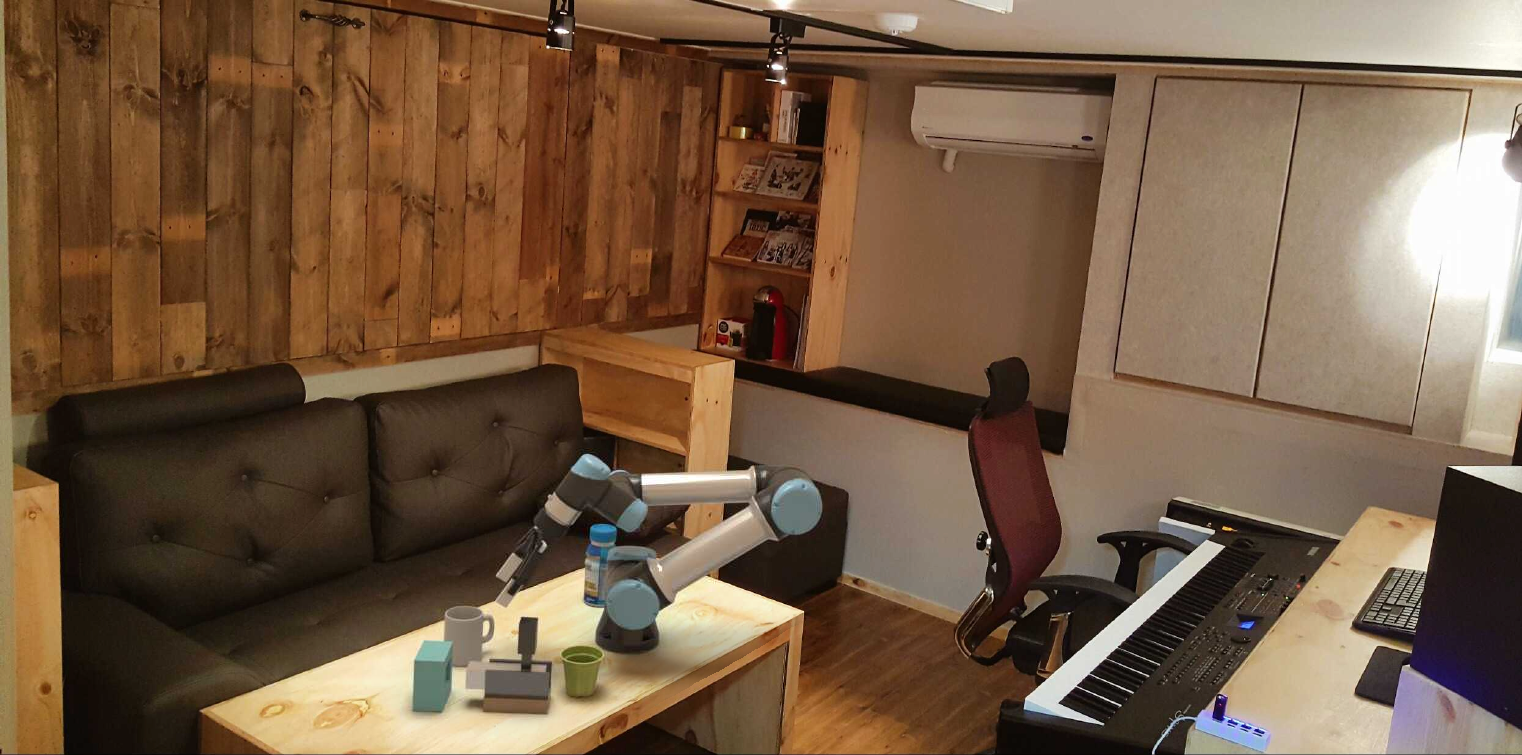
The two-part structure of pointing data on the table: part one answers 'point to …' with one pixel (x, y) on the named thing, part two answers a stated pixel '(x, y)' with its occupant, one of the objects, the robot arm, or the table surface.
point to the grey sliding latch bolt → (525, 647)
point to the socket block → (432, 675)
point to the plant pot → (581, 669)
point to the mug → (467, 633)
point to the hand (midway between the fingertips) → (500, 591)
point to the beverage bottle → (598, 563)
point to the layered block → (517, 689)
